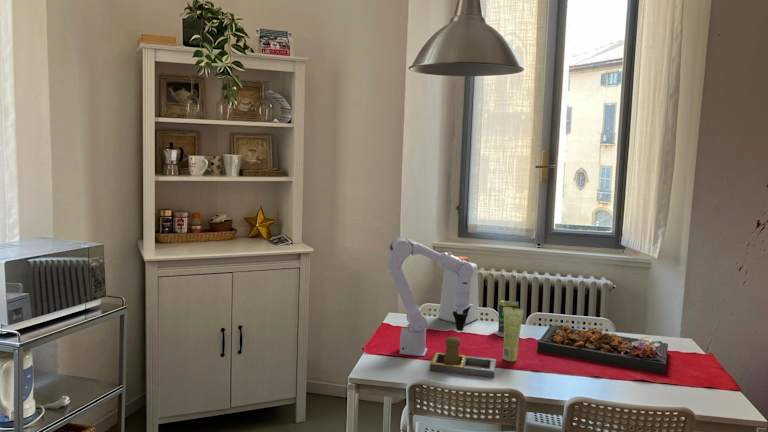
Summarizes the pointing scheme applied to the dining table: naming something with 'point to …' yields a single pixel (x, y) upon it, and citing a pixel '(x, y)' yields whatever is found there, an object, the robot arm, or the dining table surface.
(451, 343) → the cork
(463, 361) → the rail plate
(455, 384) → the dining table surface
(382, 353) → the dining table surface
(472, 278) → the plastic bottle
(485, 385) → the dining table surface
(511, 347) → the tube
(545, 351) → the food platter
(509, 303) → the coffee box
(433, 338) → the dining table surface
